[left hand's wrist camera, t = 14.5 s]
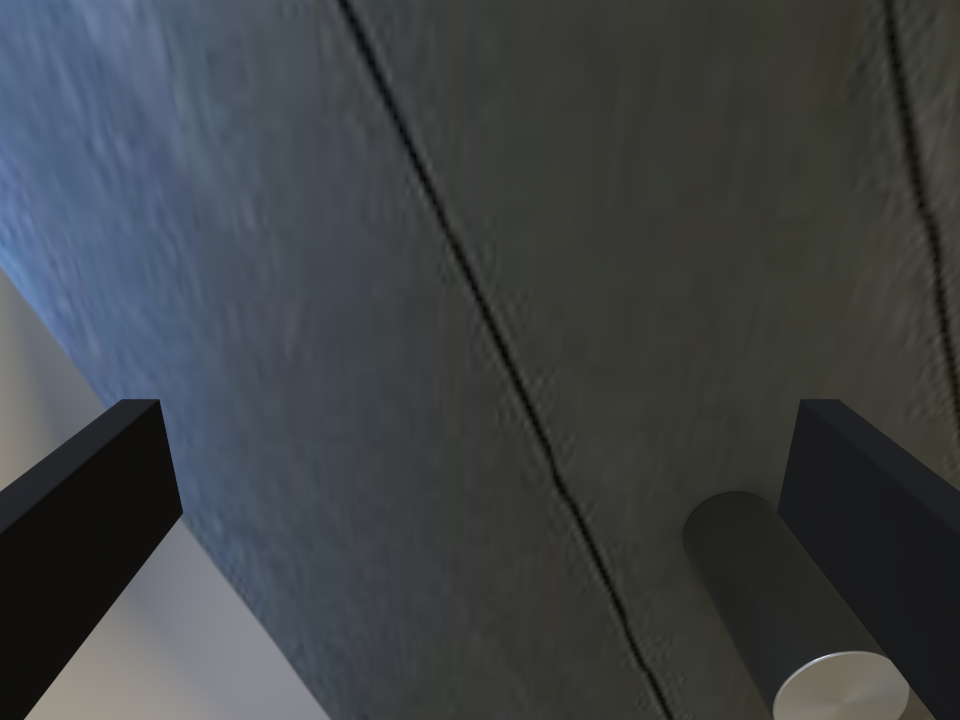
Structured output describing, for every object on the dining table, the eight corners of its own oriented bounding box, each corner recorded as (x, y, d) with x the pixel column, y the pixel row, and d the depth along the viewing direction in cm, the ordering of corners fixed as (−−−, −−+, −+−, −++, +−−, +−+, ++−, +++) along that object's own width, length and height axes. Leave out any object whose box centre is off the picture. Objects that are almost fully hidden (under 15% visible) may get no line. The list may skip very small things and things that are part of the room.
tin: (793, 541, 36) (929, 715, 25) (709, 584, 37) (806, 769, 26) (752, 475, 35) (880, 630, 24) (666, 522, 36) (750, 691, 25)
